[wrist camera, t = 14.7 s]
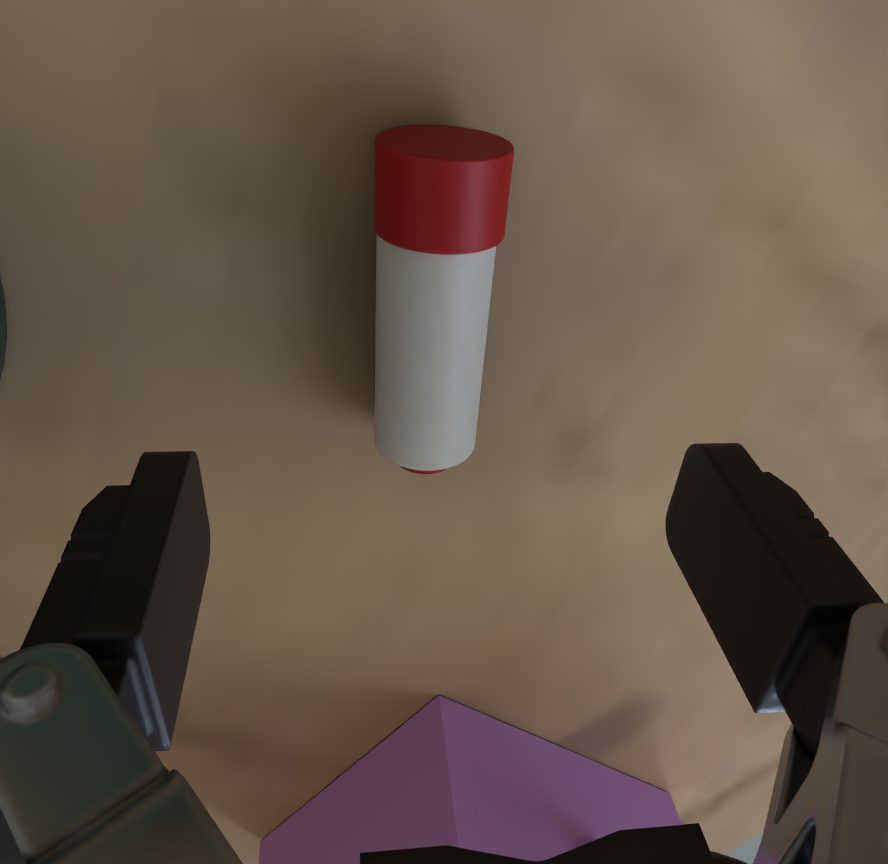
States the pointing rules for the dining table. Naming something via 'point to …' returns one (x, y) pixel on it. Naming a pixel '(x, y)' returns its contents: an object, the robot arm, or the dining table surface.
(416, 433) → the red and white gluestick
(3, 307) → the pot
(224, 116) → the dining table surface
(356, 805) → the teapot
